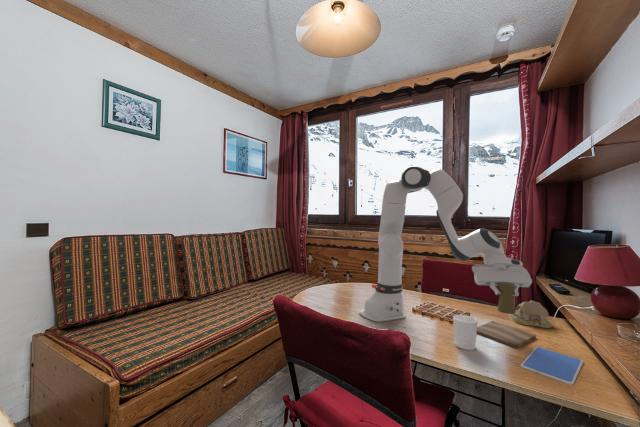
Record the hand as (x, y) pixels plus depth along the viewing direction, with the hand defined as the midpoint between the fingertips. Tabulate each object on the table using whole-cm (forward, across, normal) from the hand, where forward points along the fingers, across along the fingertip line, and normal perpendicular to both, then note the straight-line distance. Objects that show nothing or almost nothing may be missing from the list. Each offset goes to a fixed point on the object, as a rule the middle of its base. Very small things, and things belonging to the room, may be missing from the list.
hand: (507, 294), depth 110 cm
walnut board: (+11, -1, +13) cm, 17 cm away
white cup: (+20, -19, +3) cm, 28 cm away
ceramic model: (0, +17, +25) cm, 30 cm away
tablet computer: (+26, +5, -1) cm, 26 cm away
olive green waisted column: (+4, 0, +5) cm, 7 cm away
